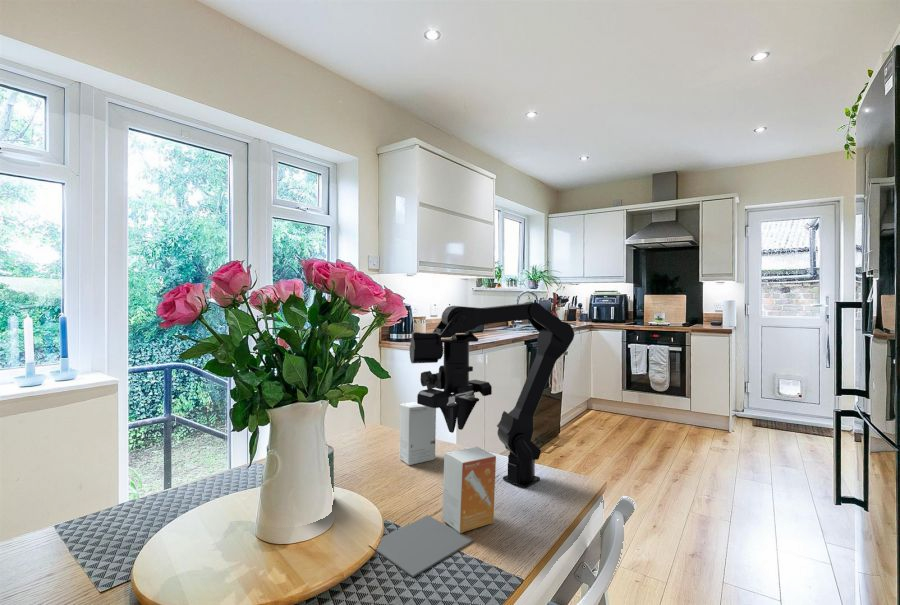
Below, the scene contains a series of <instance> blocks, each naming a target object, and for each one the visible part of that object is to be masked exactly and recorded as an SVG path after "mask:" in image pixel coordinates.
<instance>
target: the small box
mask: <svg viewBox="0 0 900 605" xmlns="http://www.w3.org/2000/svg"><path fill="white" fill-rule="evenodd" d="M443 457H444V458H443V459H444V460H443V461H444V462H443V483H442V486H443V488H442V510H441V511H442V514H441V516H442V517H441V520H442V521H444V523H445V524H446V525H448V526H449V527H451V528H453V529H454V530H456V531H458V532H459V533H462V534H464V533H465V532H468V531H471V530H474V529H478V528H481V527H483V526H487V525H492V524H494V520H495V519H494V518H495V517H494V516H495V512H494V511H495V494H496V492H495V490H496V467H497V464H496V463H497V462H496V461H497V456H496V455H495V454H493V453H490V452H489V451H487V450H485V449H483V448H481V447H479V446H474V447H469V448H463V449H462V448H461V449H456V450H453V451H448V452H444V456H443Z"/></svg>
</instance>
